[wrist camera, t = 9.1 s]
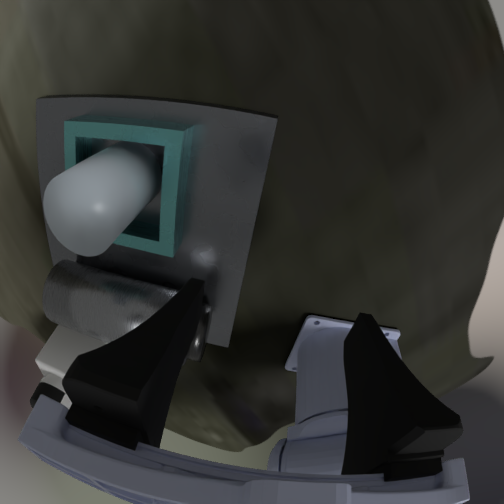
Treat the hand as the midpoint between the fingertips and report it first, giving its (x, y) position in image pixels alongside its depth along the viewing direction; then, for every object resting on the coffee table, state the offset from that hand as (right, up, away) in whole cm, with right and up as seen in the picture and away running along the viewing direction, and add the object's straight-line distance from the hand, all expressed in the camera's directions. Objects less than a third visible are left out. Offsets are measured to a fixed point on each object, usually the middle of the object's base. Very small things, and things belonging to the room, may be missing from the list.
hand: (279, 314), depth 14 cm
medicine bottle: (-21, -9, +20) cm, 31 cm away
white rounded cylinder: (-9, +8, +6) cm, 14 cm away
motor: (-10, +5, +9) cm, 15 cm away
